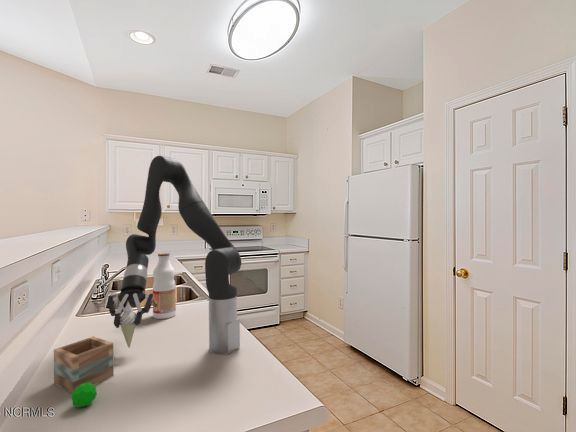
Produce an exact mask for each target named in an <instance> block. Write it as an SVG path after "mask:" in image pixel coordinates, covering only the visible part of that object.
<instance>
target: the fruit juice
mask: <svg viewBox="0 0 576 432" xmlns="http://www.w3.org/2000/svg"><path fill="white" fill-rule="evenodd" d="M170 256H171V253H170V252H159V253H158V254H157V257H158V261H157V265H156V267H155V268H154V269H153V271H152V276H153V283H152V294H153V296H154V300H153V302H152V316H153V319H157V320H158V319H159V320H164V319H169V318H172V317H174V316H176V314H177V313H176V312H177V308H176V305H177V304H176V300H177V299H176V281H175V276H176V270H175V268H174V267H173V265H172V263H171V261H170Z"/></svg>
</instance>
